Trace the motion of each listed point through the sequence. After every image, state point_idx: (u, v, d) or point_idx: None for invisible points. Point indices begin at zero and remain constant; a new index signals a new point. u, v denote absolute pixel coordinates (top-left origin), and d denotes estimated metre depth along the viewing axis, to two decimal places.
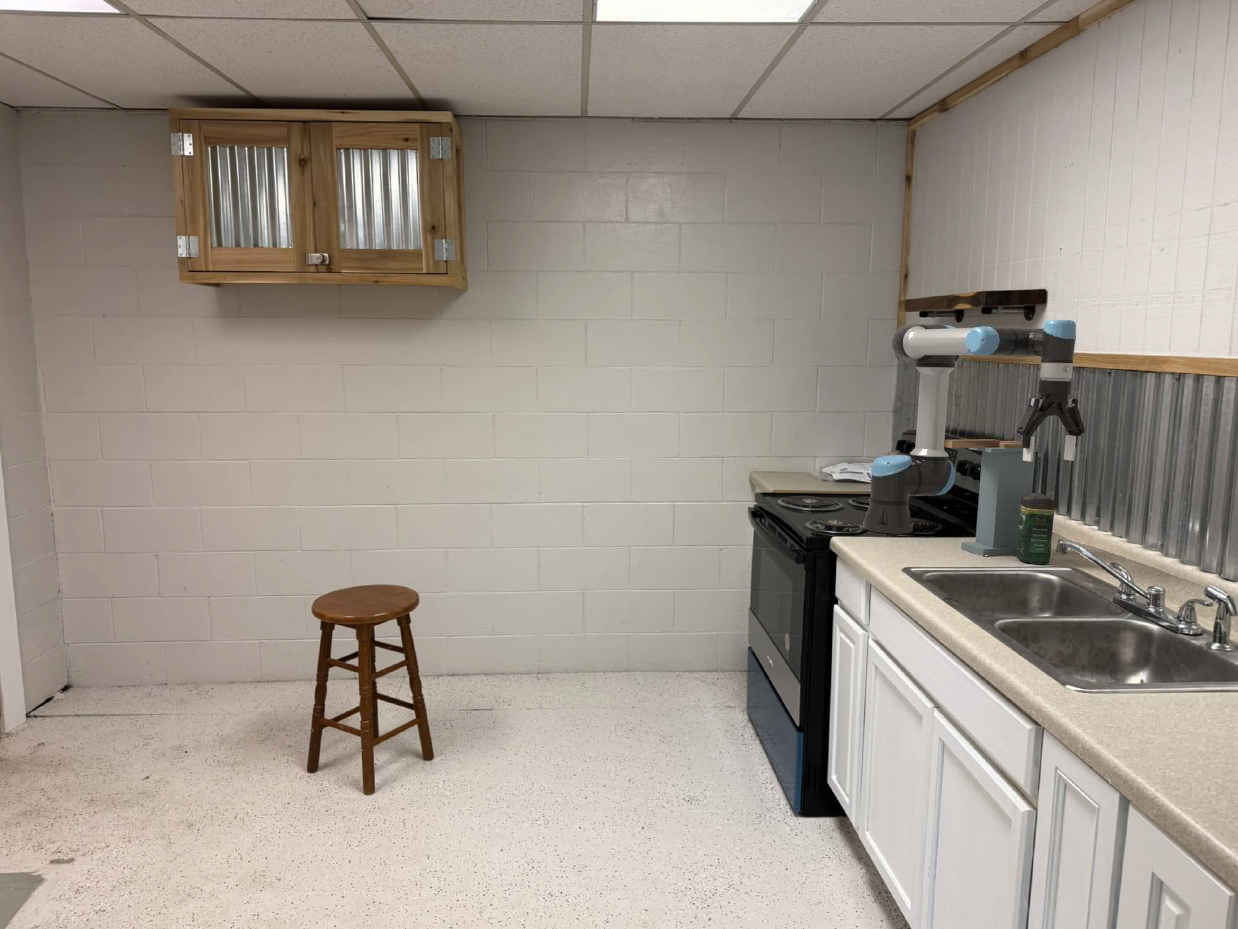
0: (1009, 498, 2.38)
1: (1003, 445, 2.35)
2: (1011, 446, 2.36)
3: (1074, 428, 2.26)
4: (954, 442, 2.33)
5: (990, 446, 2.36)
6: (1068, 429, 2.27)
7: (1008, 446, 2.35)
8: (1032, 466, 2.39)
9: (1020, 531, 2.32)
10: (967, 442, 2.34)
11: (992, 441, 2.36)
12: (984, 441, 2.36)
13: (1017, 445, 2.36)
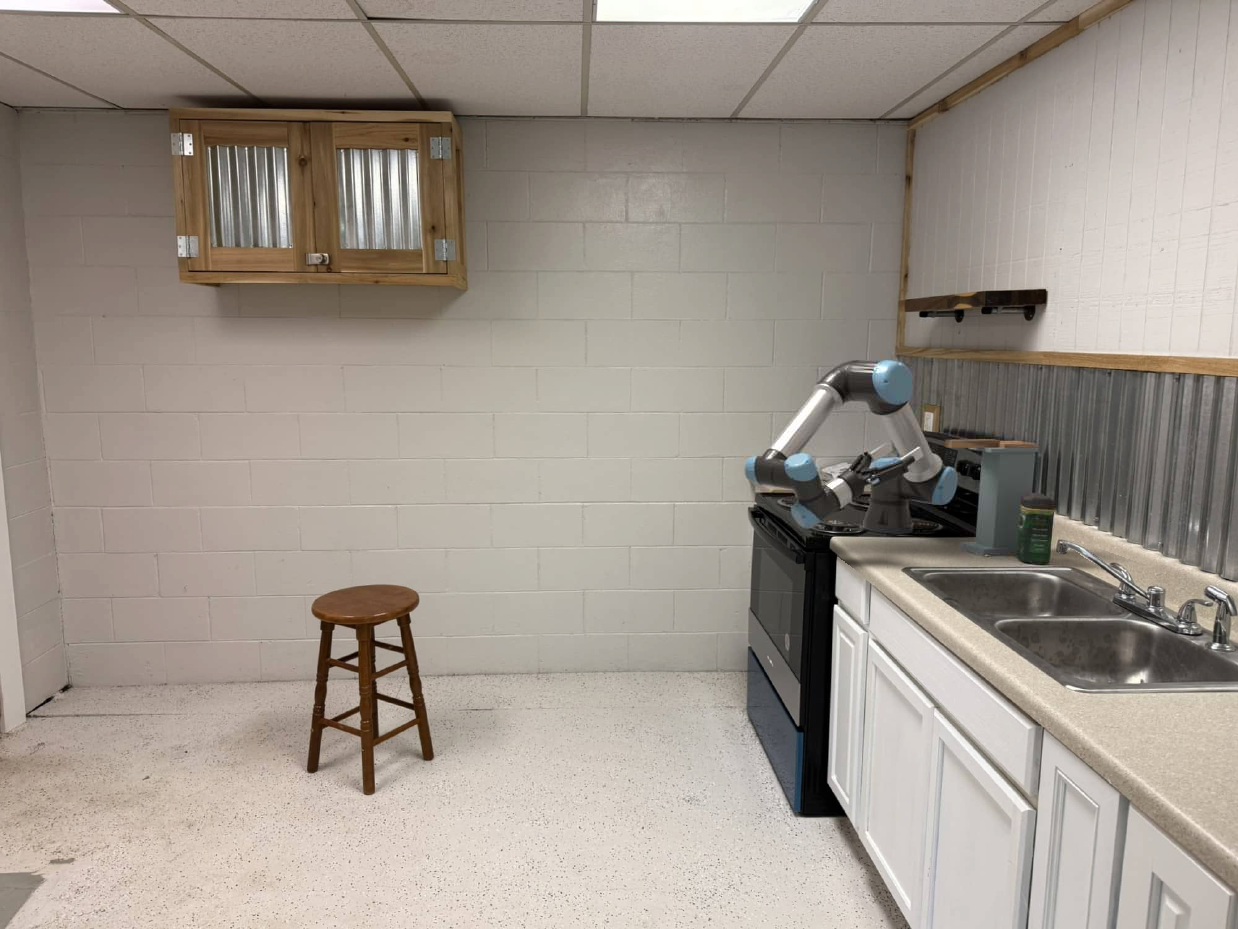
0: (1009, 498, 2.38)
1: (1003, 445, 2.35)
2: (1011, 446, 2.36)
3: None
4: (954, 442, 2.33)
5: (990, 446, 2.36)
6: None
7: (1008, 446, 2.35)
8: (1032, 466, 2.39)
9: (1020, 531, 2.32)
10: (967, 442, 2.34)
11: (992, 441, 2.36)
12: (984, 441, 2.36)
13: (1017, 445, 2.36)
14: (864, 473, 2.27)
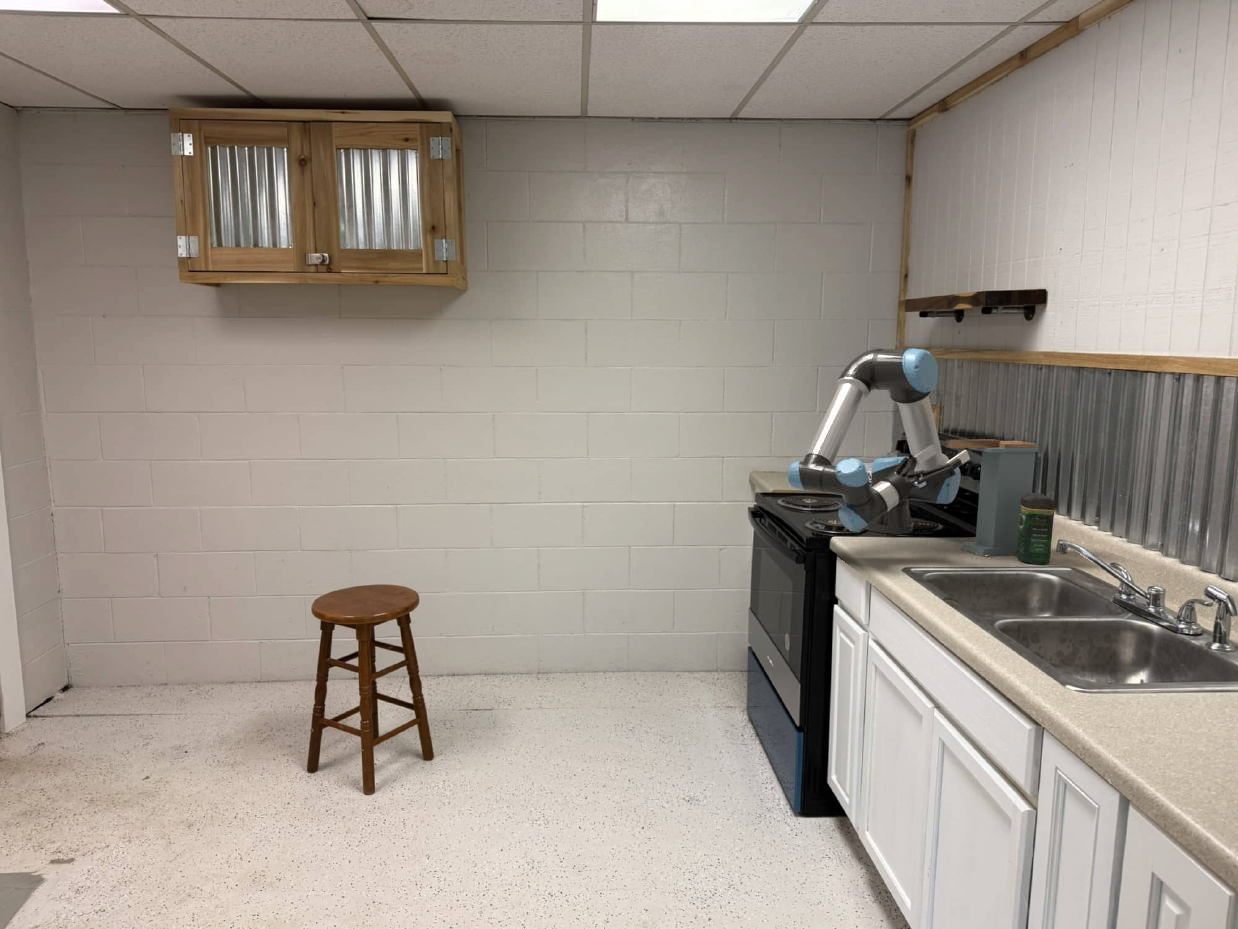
0: (1009, 498, 2.38)
1: (1003, 445, 2.35)
2: (1011, 446, 2.36)
3: None
4: (954, 442, 2.33)
5: (990, 446, 2.36)
6: None
7: (1008, 446, 2.35)
8: (1032, 466, 2.39)
9: (1020, 531, 2.32)
10: (967, 442, 2.34)
11: (992, 441, 2.36)
12: (984, 441, 2.36)
13: (1017, 445, 2.36)
14: (911, 476, 2.29)
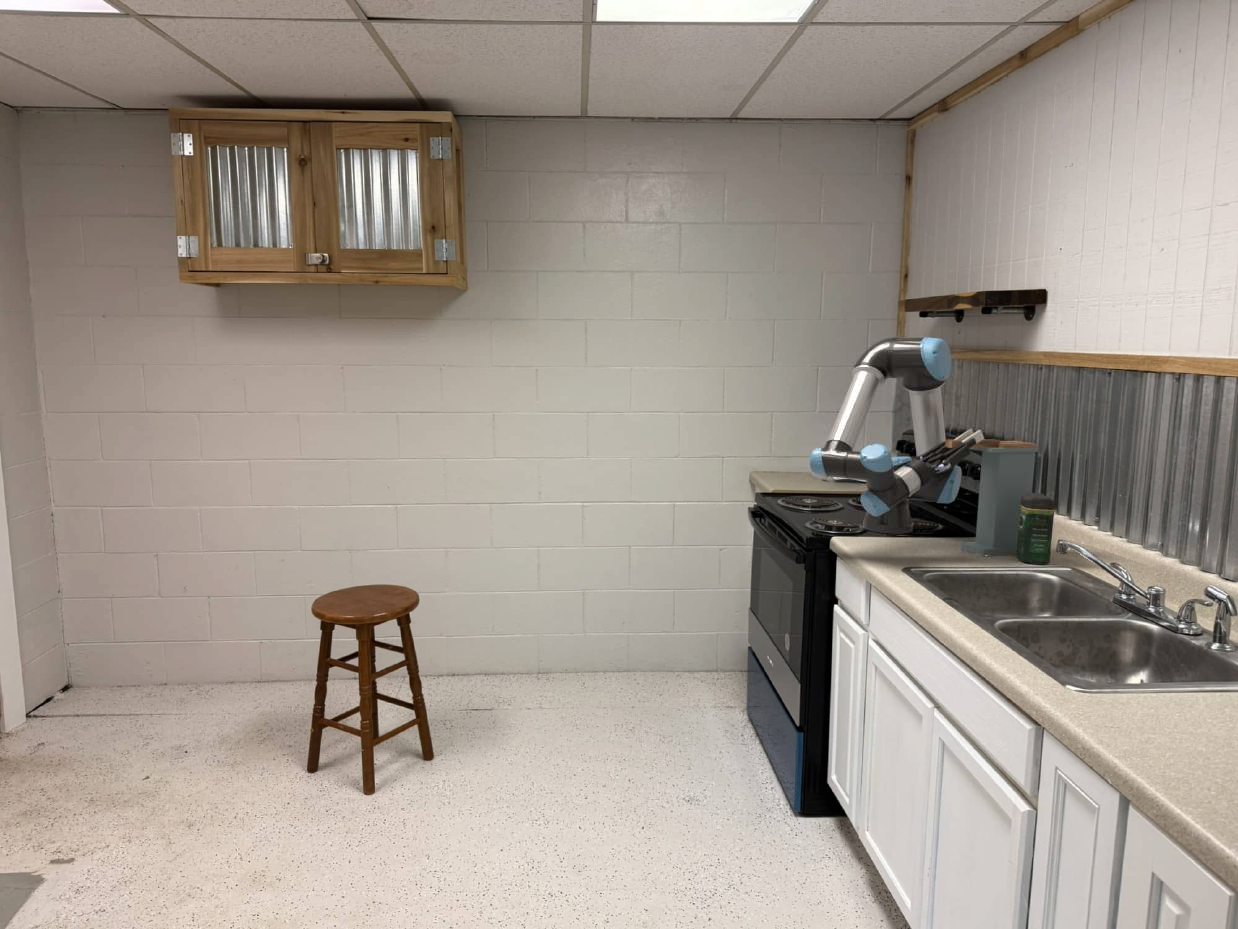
0: (1009, 498, 2.38)
1: (1003, 445, 2.35)
2: (1011, 446, 2.36)
3: None
4: (954, 442, 2.33)
5: (990, 446, 2.36)
6: None
7: (1008, 446, 2.35)
8: (1032, 466, 2.39)
9: (1020, 531, 2.32)
10: None
11: (992, 441, 2.36)
12: (984, 441, 2.36)
13: (1017, 445, 2.36)
14: (933, 461, 2.31)
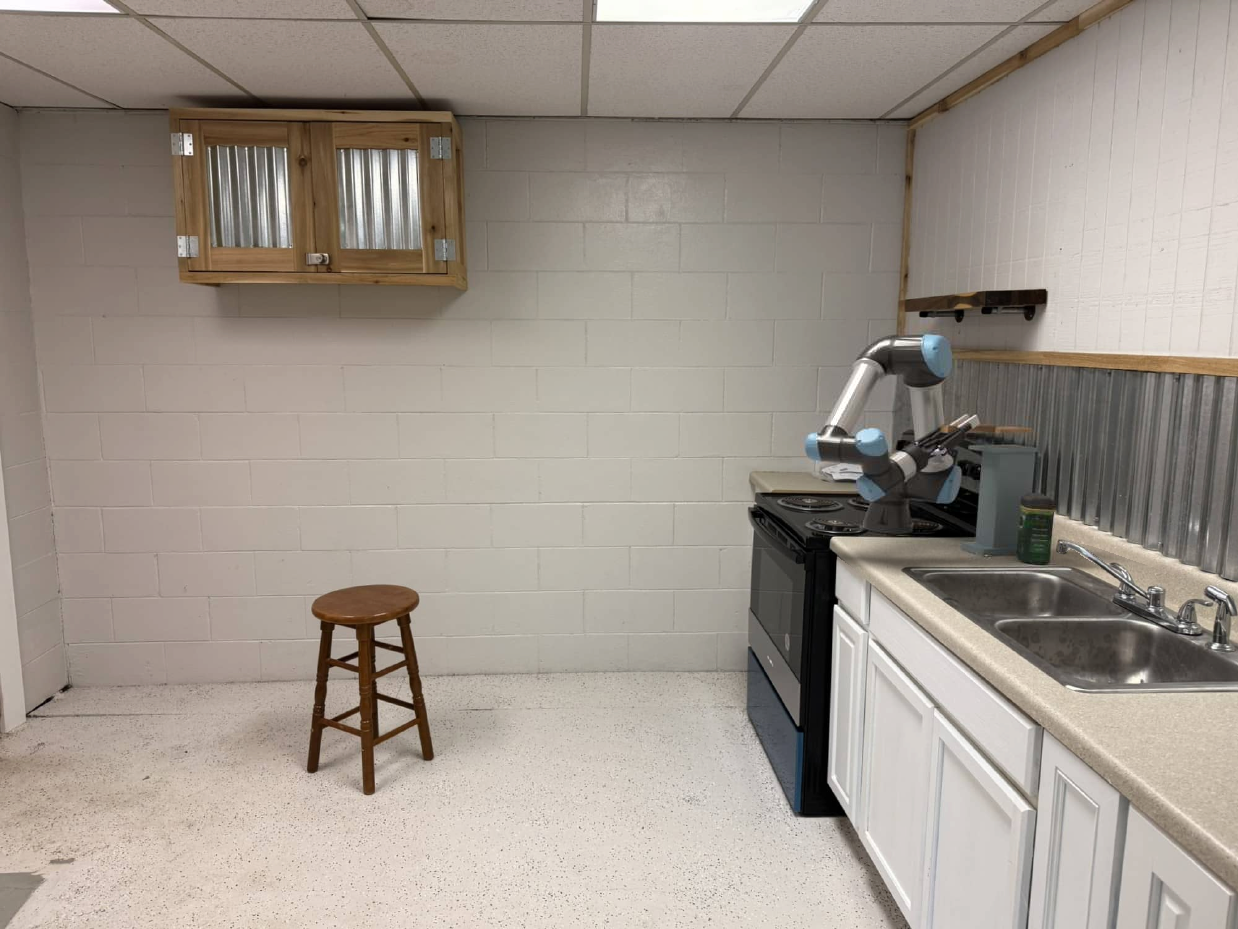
0: (1009, 498, 2.38)
1: (999, 430, 2.34)
2: (1007, 431, 2.34)
3: None
4: (950, 427, 2.31)
5: (986, 431, 2.35)
6: None
7: (1004, 431, 2.34)
8: (1032, 466, 2.39)
9: (1020, 531, 2.32)
10: None
11: (988, 426, 2.35)
12: (980, 426, 2.34)
13: (1013, 430, 2.35)
14: (929, 445, 2.29)
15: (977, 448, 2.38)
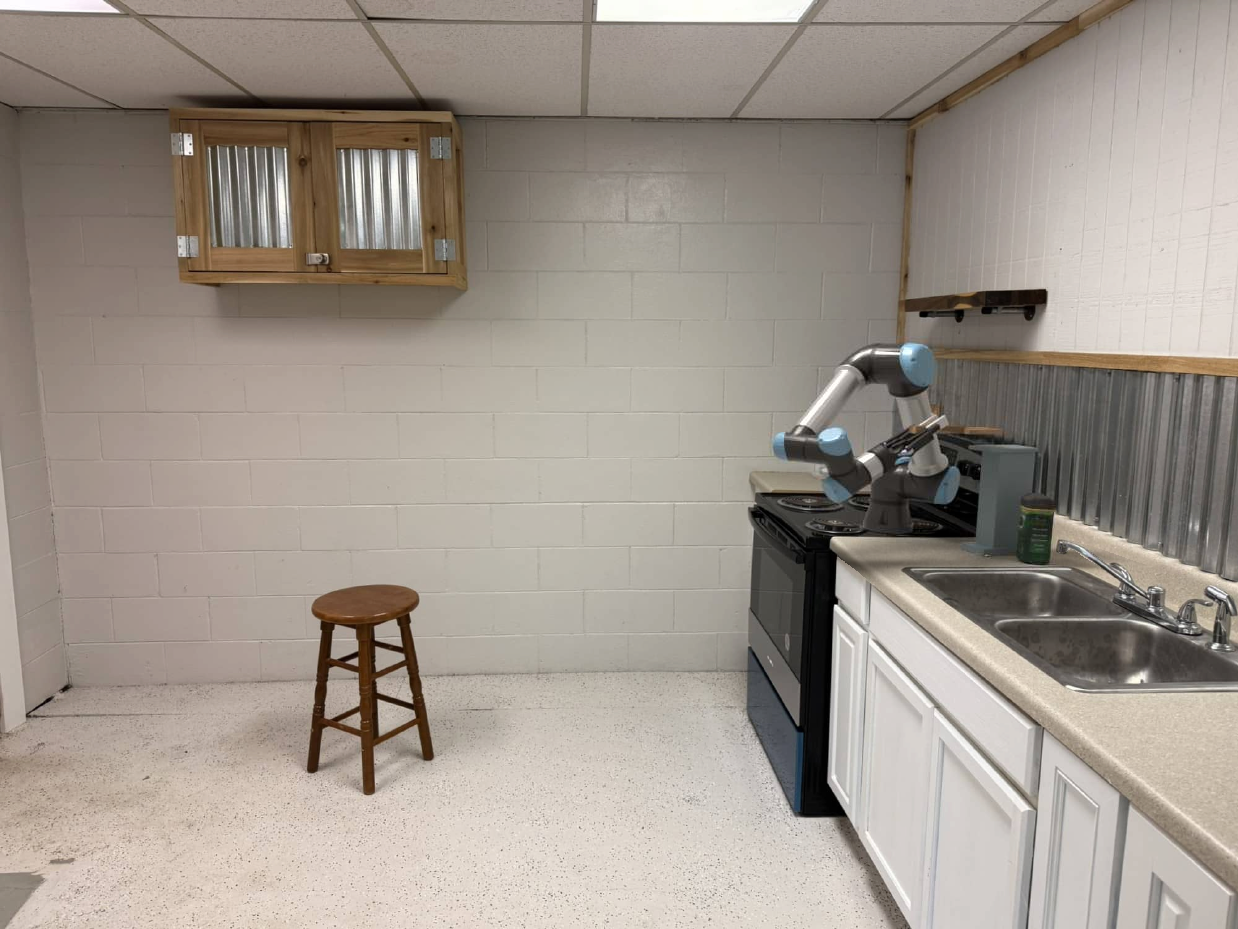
0: (1009, 498, 2.38)
1: (968, 431, 2.31)
2: (976, 432, 2.32)
3: None
4: (918, 428, 2.29)
5: (955, 432, 2.32)
6: None
7: (973, 432, 2.31)
8: (1032, 466, 2.39)
9: (1020, 531, 2.32)
10: None
11: (957, 427, 2.32)
12: (949, 427, 2.31)
13: (982, 431, 2.32)
14: (896, 446, 2.27)
15: (977, 448, 2.38)
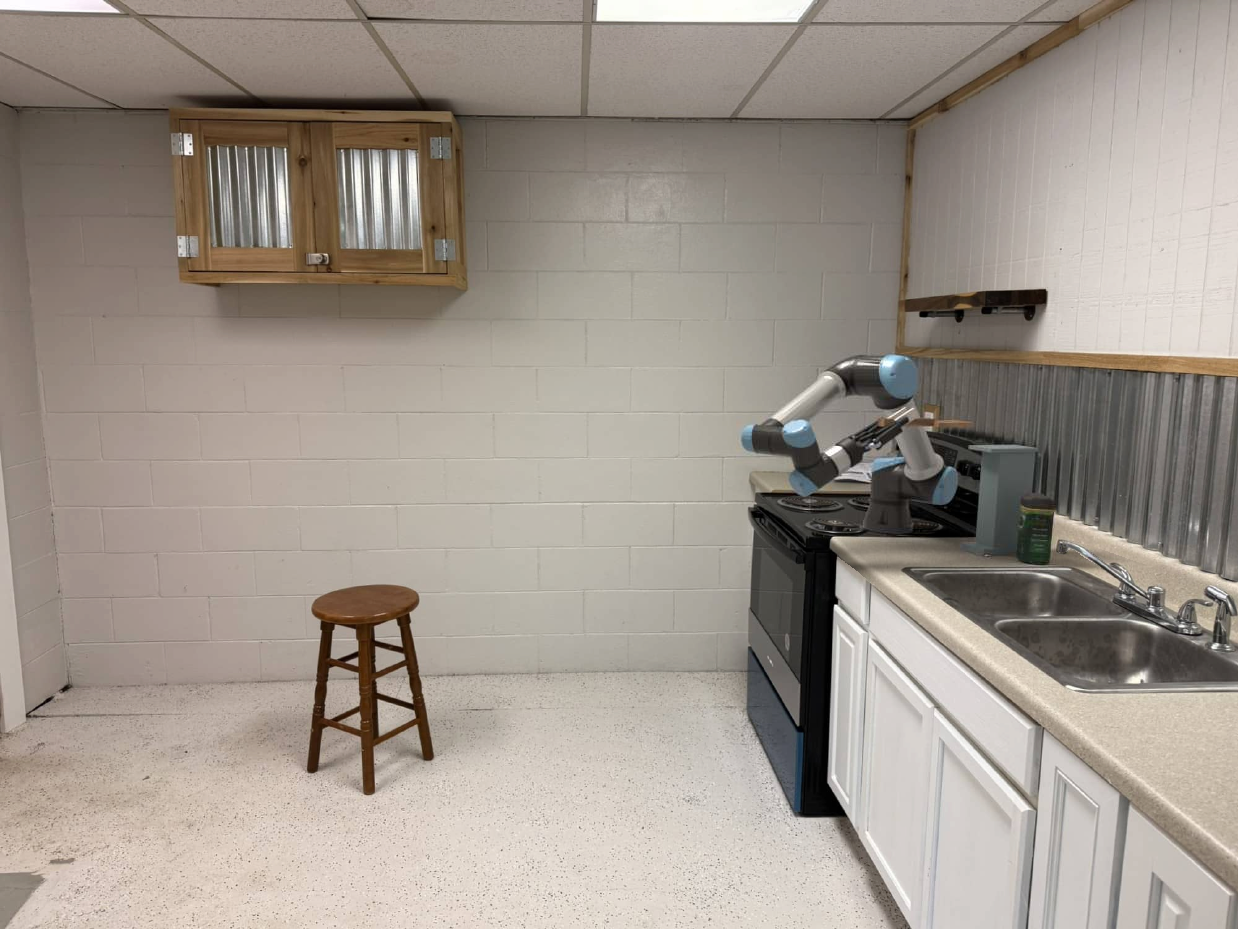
0: (1009, 498, 2.38)
1: (937, 424, 2.28)
2: (946, 425, 2.28)
3: None
4: (886, 420, 2.25)
5: (924, 425, 2.29)
6: None
7: (943, 425, 2.28)
8: (1032, 466, 2.39)
9: (1020, 531, 2.32)
10: None
11: (926, 420, 2.29)
12: (918, 420, 2.28)
13: (952, 424, 2.29)
14: (864, 439, 2.23)
15: (977, 448, 2.38)
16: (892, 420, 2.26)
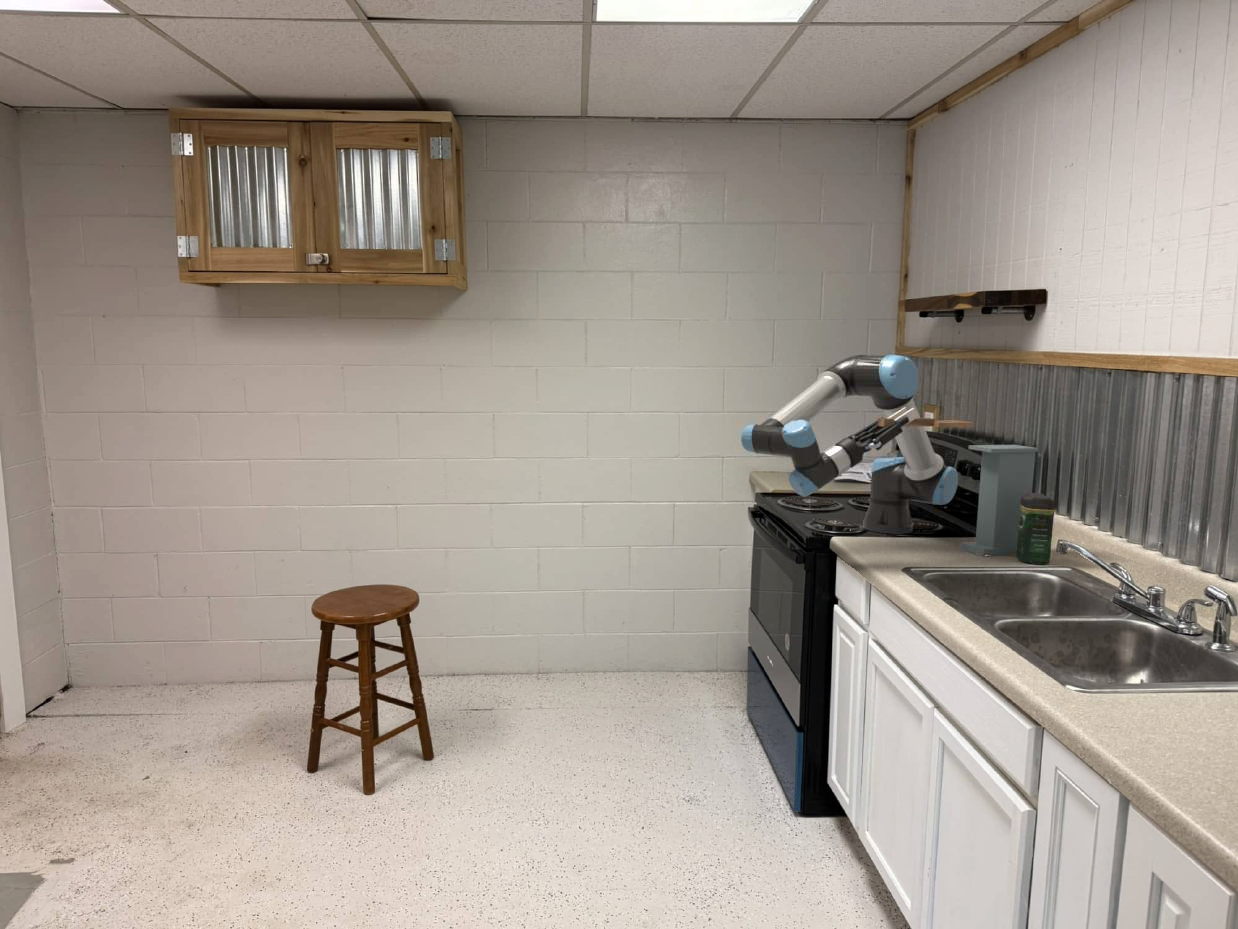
0: (1009, 498, 2.38)
1: (937, 424, 2.28)
2: (946, 425, 2.28)
3: None
4: (886, 420, 2.25)
5: (924, 425, 2.29)
6: None
7: (943, 425, 2.28)
8: (1032, 466, 2.39)
9: (1020, 531, 2.32)
10: None
11: (926, 420, 2.29)
12: (918, 420, 2.28)
13: (952, 424, 2.29)
14: (864, 439, 2.23)
15: (977, 448, 2.38)
16: (892, 420, 2.26)
